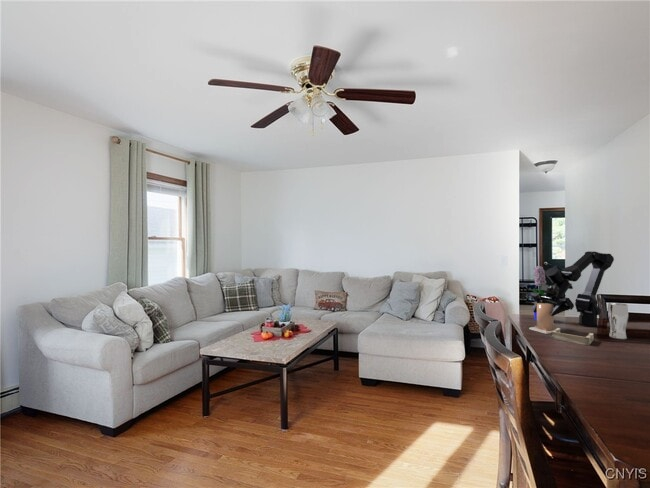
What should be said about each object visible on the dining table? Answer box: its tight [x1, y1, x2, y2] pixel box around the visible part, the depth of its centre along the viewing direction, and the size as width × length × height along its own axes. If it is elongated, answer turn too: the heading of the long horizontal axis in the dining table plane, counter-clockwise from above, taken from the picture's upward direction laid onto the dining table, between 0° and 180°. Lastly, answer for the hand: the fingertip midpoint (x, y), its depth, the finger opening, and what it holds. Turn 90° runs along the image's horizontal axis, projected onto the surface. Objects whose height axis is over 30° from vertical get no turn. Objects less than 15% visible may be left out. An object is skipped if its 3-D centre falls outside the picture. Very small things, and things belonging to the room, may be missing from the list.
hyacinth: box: [530, 265, 547, 322], centre depth 187 cm, size 9×10×30 cm
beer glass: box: [607, 302, 629, 340], centre depth 154 cm, size 7×7×15 cm
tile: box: [529, 326, 554, 335], centre depth 167 cm, size 9×9×1 cm
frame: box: [550, 327, 595, 346], centre depth 152 cm, size 10×13×3 cm
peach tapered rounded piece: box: [534, 302, 556, 331], centre depth 167 cm, size 7×7×12 cm
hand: (542, 313), depth 166 cm, fingers open, 9 cm apart
